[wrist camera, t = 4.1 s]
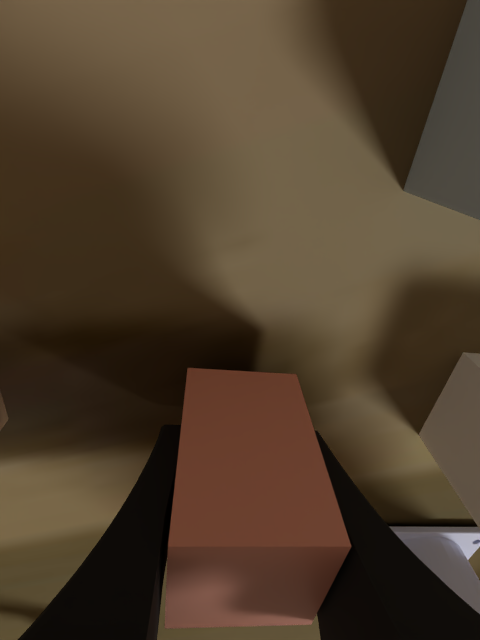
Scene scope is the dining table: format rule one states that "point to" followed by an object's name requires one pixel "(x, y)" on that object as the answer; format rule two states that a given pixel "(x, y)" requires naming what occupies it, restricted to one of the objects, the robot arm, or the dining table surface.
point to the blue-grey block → (453, 127)
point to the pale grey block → (458, 432)
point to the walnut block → (2, 413)
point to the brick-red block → (250, 506)
